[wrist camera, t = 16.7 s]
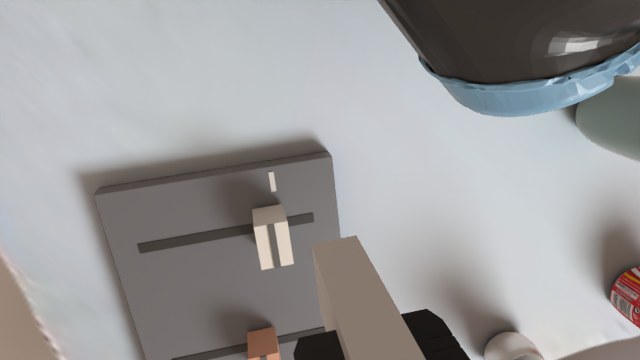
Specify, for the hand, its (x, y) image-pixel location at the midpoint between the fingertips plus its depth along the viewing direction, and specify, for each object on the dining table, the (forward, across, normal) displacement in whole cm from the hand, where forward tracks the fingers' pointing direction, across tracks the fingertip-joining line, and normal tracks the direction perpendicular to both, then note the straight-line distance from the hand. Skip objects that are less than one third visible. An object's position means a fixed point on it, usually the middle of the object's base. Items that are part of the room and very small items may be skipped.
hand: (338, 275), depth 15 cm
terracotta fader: (+27, -5, -25) cm, 37 cm away
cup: (+30, +35, -5) cm, 46 cm away
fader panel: (+29, -6, -18) cm, 35 cm away
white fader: (+27, -2, -11) cm, 29 cm away
